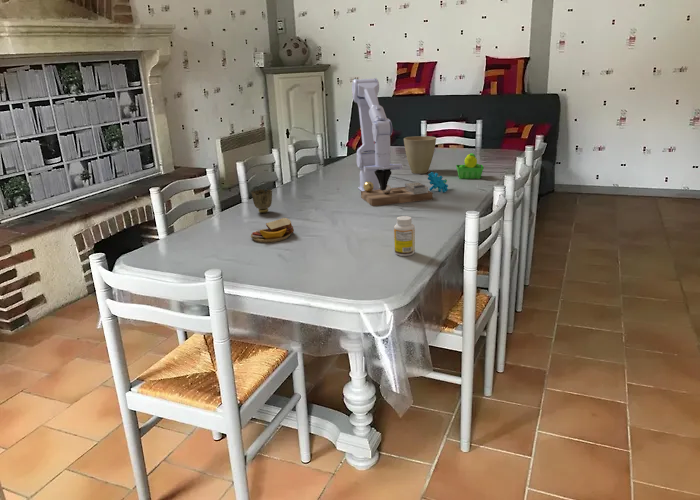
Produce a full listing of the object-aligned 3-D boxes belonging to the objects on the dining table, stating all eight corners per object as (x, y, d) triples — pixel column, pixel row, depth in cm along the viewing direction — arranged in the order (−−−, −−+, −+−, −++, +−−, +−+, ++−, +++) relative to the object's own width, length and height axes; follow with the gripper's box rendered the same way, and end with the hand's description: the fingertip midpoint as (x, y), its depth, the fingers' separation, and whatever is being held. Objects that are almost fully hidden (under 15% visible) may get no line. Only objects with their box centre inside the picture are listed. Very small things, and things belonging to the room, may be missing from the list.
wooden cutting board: (361, 197, 220) (360, 191, 219) (418, 191, 225) (418, 185, 224) (371, 205, 206) (371, 199, 206) (432, 199, 212) (432, 193, 211)
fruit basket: (481, 175, 250) (482, 150, 246) (484, 179, 242) (485, 153, 238) (455, 176, 251) (456, 150, 248) (457, 180, 243) (457, 154, 239)
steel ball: (385, 181, 214) (392, 187, 214) (379, 189, 215) (386, 194, 215) (386, 183, 211) (393, 189, 211) (380, 190, 211) (387, 196, 212)
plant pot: (437, 175, 255) (438, 139, 250) (405, 176, 255) (404, 140, 250) (433, 168, 269) (434, 135, 264) (402, 169, 270) (402, 136, 264)
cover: (405, 189, 219) (405, 182, 218) (418, 187, 220) (418, 180, 219) (413, 194, 210) (413, 187, 209) (427, 193, 211) (427, 185, 210)
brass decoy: (362, 191, 219) (361, 181, 218) (372, 190, 220) (371, 180, 219) (365, 193, 215) (364, 183, 214) (375, 192, 216) (374, 182, 215)
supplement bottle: (402, 248, 159) (401, 214, 156) (418, 252, 156) (418, 216, 152) (390, 254, 155) (389, 218, 152) (407, 258, 152) (406, 221, 148)
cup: (277, 210, 206) (275, 188, 203) (268, 215, 199) (266, 193, 197) (259, 209, 208) (257, 188, 206) (249, 214, 202) (247, 192, 199)
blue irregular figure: (438, 191, 217) (425, 171, 221) (428, 200, 221) (416, 180, 224) (455, 189, 225) (442, 170, 228) (445, 198, 229) (433, 179, 232)
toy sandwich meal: (249, 234, 180) (247, 220, 178) (291, 229, 183) (290, 215, 181) (252, 245, 168) (251, 230, 166) (297, 240, 171) (296, 225, 170)
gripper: (367, 156, 203) (368, 193, 207) (404, 153, 206) (405, 189, 210) (361, 154, 210) (363, 190, 213) (398, 151, 213) (399, 186, 217)
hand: (383, 189), depth 212 cm, fingers closed, pressing on steel ball
